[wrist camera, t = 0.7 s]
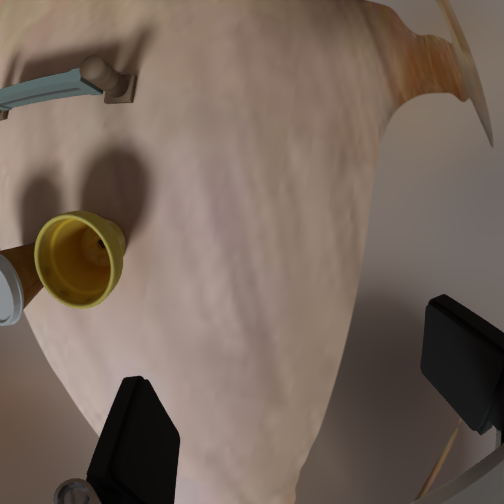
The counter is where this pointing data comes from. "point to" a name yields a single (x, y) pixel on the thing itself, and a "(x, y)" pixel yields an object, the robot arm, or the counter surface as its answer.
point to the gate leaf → (47, 89)
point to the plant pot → (79, 258)
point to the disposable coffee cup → (17, 282)
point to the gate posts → (104, 82)
